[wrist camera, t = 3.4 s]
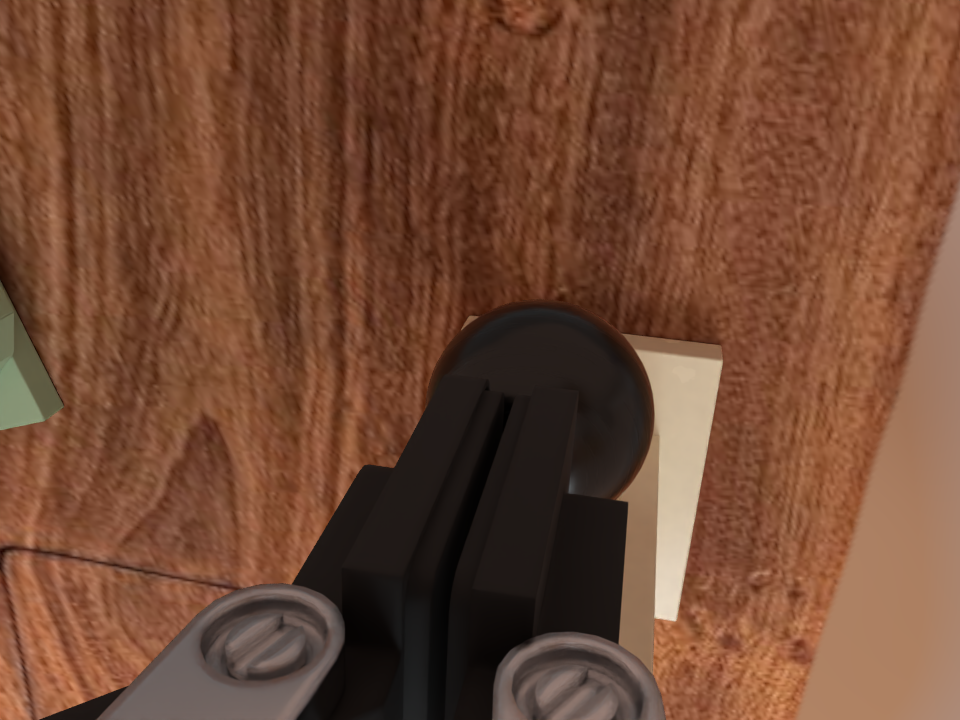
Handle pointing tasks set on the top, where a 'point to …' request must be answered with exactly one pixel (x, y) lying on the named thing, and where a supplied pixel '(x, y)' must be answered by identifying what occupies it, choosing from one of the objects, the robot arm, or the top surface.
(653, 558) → the switch bracket
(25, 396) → the button box
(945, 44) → the top surface
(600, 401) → the lever
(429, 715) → the robot arm
